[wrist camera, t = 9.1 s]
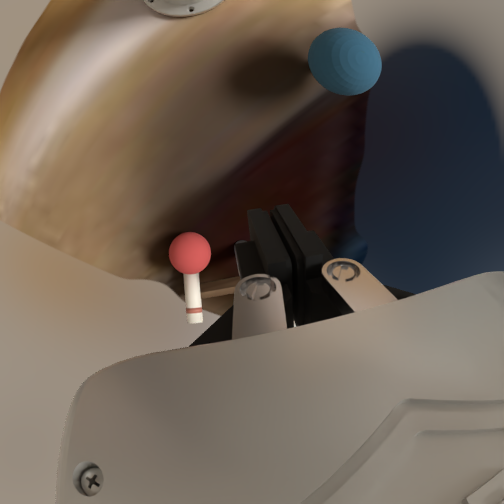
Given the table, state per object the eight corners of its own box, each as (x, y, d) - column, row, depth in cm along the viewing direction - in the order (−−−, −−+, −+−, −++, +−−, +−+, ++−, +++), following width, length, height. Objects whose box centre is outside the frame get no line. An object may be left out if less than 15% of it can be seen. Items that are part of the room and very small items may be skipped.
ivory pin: (181, 268, 45) (185, 322, 44) (185, 267, 43) (189, 323, 42) (195, 267, 46) (200, 320, 46) (200, 266, 44) (205, 322, 44)
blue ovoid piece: (320, 105, 36) (363, 113, 26) (277, 63, 32) (307, 53, 22) (357, 68, 34) (408, 67, 23) (317, 26, 30) (359, 8, 20)
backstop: (186, 285, 48) (186, 295, 46) (252, 274, 48) (254, 283, 46) (188, 291, 48) (188, 301, 46) (252, 279, 49) (255, 288, 47)
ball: (171, 284, 41) (177, 257, 45) (212, 282, 41) (214, 254, 45) (160, 251, 37) (168, 225, 42) (205, 248, 37) (209, 222, 42)
